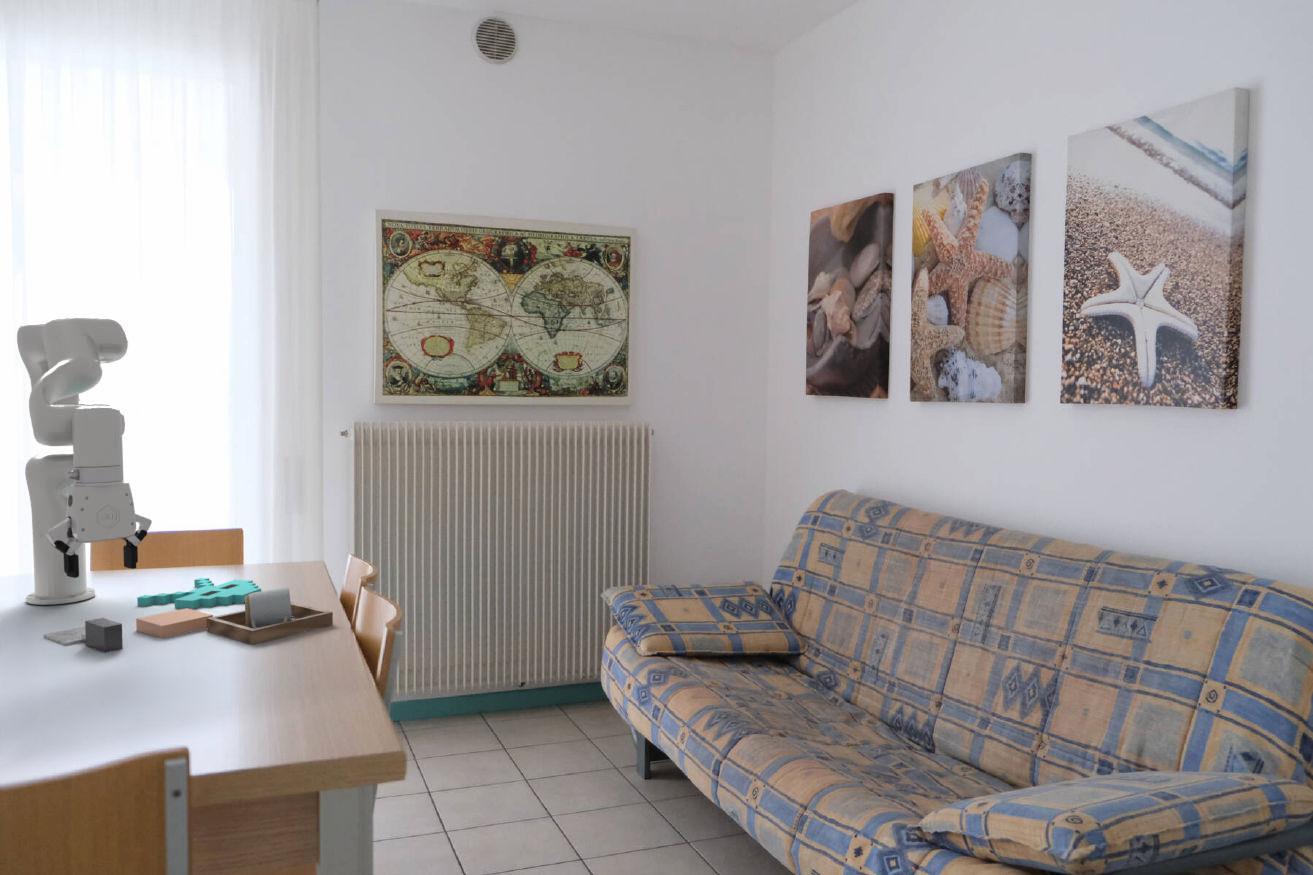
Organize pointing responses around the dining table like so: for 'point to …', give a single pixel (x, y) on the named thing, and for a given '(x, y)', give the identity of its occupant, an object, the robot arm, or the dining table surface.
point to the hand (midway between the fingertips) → (102, 572)
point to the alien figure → (204, 594)
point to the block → (172, 622)
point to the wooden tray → (233, 624)
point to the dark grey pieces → (92, 635)
